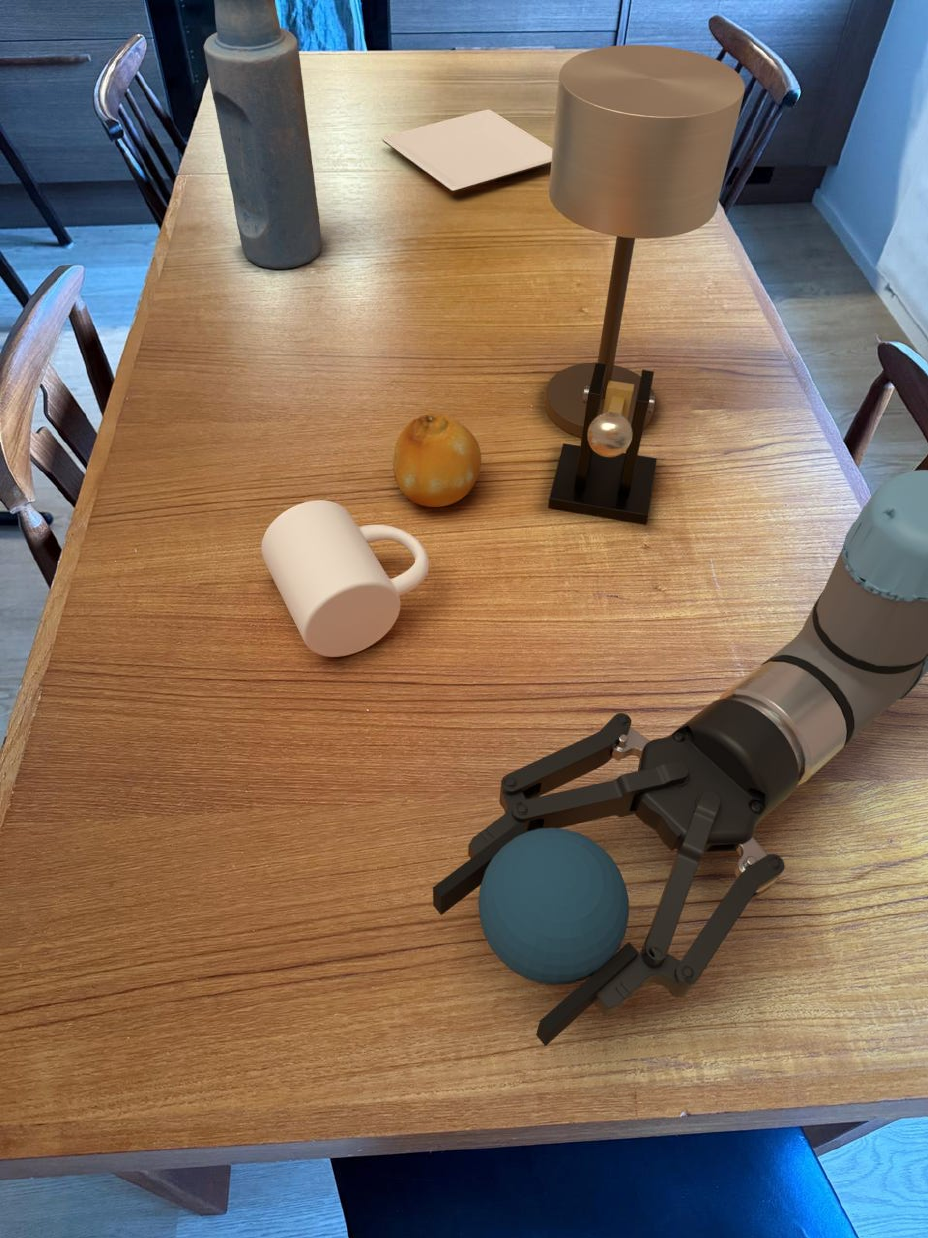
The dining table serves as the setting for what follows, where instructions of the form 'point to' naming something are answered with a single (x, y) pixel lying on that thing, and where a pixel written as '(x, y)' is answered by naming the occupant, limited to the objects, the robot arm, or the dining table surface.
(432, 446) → the fruit
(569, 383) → the lamp
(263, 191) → the bottle
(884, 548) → the robot arm
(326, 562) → the mug
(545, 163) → the plate
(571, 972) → the dark teal ovoid
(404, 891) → the dining table surface
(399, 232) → the dining table surface
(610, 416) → the lamp switch
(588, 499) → the switch bracket
